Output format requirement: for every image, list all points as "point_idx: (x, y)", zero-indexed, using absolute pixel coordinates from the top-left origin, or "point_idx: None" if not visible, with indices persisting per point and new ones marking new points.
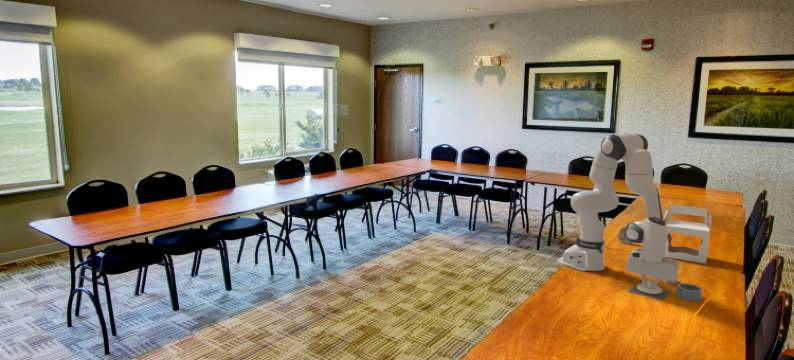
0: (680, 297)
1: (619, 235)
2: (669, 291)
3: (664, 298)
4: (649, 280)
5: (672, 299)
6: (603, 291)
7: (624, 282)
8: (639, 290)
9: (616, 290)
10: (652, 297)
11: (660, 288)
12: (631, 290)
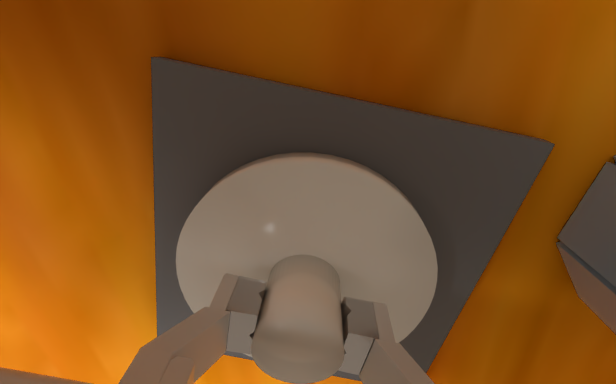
0: (593, 310)
1: None
2: (522, 161)
3: (434, 356)
4: (285, 333)
5: (502, 312)
6: (32, 370)
7: (15, 71)
8: None
9: (81, 322)
10: (343, 373)
11: (422, 247)
12: (172, 311)
